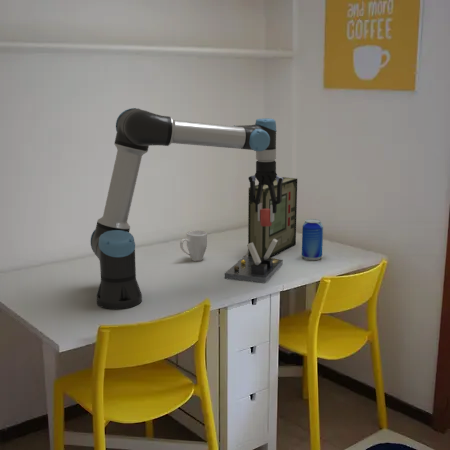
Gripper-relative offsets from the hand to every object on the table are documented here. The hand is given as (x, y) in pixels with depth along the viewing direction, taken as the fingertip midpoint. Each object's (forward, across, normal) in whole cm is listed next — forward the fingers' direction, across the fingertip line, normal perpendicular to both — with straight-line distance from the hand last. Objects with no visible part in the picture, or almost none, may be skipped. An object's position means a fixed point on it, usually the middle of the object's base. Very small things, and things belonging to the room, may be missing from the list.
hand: (266, 220), depth 241 cm
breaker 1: (+15, 0, +10) cm, 18 cm away
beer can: (+20, -13, -22) cm, 33 cm away
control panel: (+20, +5, -26) cm, 33 cm away
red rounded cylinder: (+2, 0, 0) cm, 2 cm away
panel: (+20, +4, +3) cm, 20 cm away
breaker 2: (+15, 0, +2) cm, 15 cm away
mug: (+20, +32, -1) cm, 37 cm away
